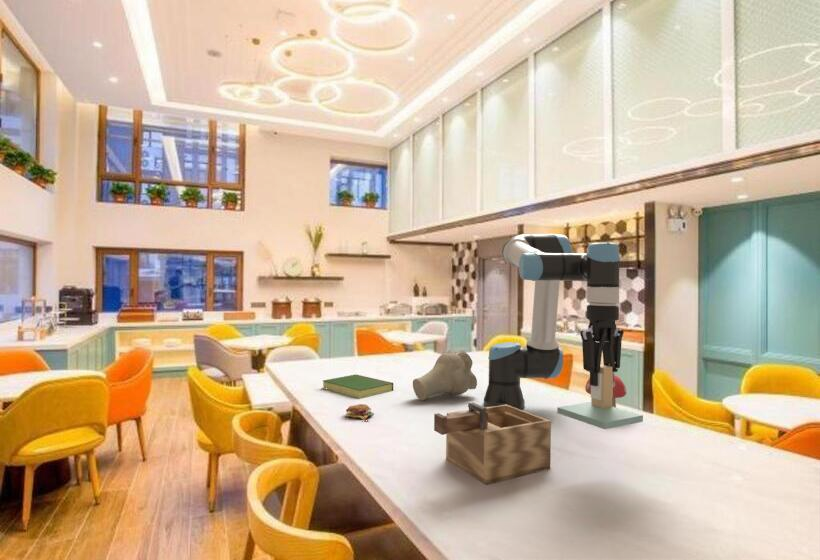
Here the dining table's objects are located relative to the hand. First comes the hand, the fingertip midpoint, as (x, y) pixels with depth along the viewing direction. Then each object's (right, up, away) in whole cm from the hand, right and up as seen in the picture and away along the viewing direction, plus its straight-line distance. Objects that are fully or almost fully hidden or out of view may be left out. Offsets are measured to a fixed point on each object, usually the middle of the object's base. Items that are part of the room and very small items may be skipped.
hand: (601, 397), depth 116 cm
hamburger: (-65, -18, +41) cm, 79 cm away
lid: (-3, -4, -5) cm, 7 cm away
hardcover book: (-71, -18, +81) cm, 109 cm away
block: (-36, -5, -8) cm, 37 cm away
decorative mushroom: (+21, -18, +48) cm, 55 cm away
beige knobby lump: (-36, -18, +70) cm, 81 cm away
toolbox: (-28, -17, +1) cm, 33 cm away
